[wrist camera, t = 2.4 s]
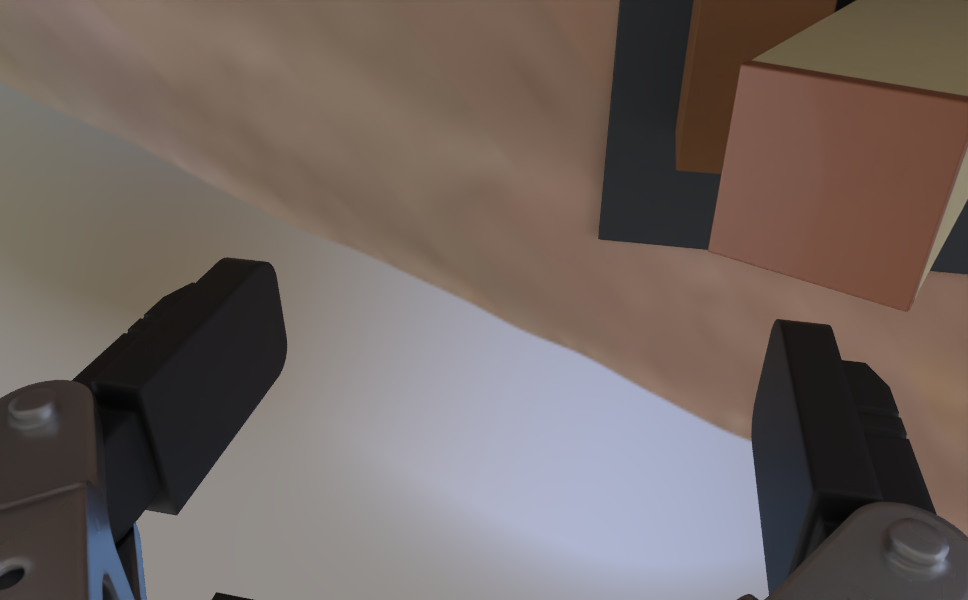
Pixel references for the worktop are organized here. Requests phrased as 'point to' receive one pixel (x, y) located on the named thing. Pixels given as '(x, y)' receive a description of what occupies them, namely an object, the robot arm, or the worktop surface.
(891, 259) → the carton
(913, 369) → the worktop surface
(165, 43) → the worktop surface
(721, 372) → the worktop surface
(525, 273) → the worktop surface
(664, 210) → the mat
